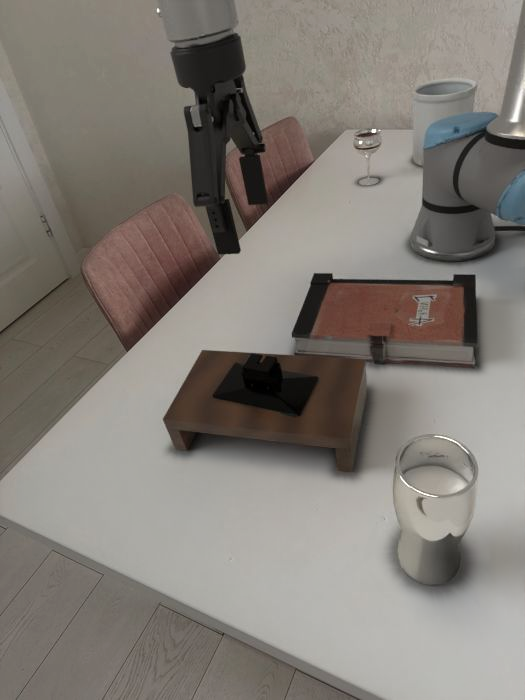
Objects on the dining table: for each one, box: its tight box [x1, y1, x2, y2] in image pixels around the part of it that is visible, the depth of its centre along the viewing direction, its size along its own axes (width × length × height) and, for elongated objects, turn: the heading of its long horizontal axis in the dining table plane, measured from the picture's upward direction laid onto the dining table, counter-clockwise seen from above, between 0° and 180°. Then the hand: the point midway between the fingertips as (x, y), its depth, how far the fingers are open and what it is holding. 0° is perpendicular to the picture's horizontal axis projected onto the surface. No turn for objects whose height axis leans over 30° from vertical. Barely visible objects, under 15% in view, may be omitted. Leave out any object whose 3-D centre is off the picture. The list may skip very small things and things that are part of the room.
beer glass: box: [392, 433, 479, 586], centre depth 46 cm, size 7×7×15 cm
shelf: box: [162, 349, 368, 473], centre depth 67 cm, size 24×14×6 cm, turn 74°
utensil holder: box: [411, 77, 478, 167], centre depth 126 cm, size 15×15×18 cm
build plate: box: [212, 352, 318, 417], centre depth 64 cm, size 12×7×5 cm, turn 66°
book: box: [291, 272, 479, 369], centre depth 78 cm, size 26×18×5 cm
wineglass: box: [353, 127, 383, 186], centre depth 124 cm, size 7×7×12 cm
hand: (245, 226), depth 65 cm, fingers open, 13 cm apart
